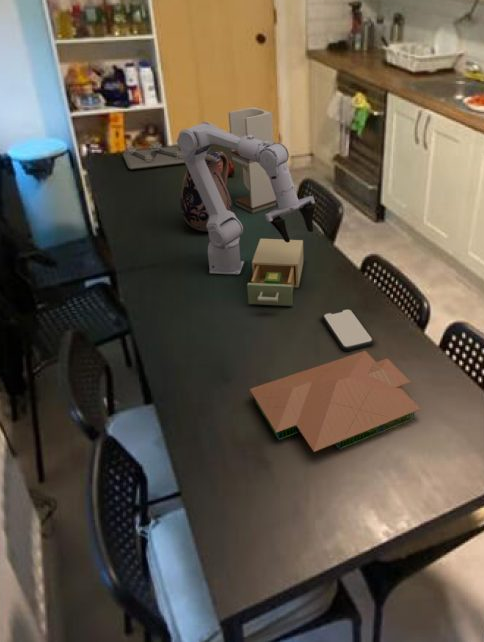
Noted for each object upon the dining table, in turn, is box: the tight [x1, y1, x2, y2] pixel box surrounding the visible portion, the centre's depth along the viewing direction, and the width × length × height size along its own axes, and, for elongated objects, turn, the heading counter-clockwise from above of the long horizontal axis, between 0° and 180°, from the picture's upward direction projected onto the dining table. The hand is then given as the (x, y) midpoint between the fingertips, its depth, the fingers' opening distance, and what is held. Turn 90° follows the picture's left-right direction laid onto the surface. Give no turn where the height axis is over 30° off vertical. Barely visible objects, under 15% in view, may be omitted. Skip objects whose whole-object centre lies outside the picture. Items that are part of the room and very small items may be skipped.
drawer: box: [246, 265, 295, 307], centre depth 161 cm, size 19×12×6 cm, turn 177°
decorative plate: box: [122, 141, 186, 171], centre depth 256 cm, size 30×22×7 cm
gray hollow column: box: [228, 106, 277, 214], centre depth 209 cm, size 11×11×35 cm
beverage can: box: [218, 160, 236, 177], centre depth 240 cm, size 7×12×7 cm, turn 116°
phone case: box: [322, 308, 374, 352], centre depth 149 cm, size 9×2×16 cm
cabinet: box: [251, 238, 304, 289], centre depth 172 cm, size 16×14×8 cm
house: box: [249, 350, 421, 453], centre depth 123 cm, size 23×33×8 cm
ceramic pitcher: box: [179, 151, 233, 232], centre depth 196 cm, size 18×21×25 cm
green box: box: [264, 272, 282, 284], centre depth 162 cm, size 7×4×4 cm, turn 177°
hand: (299, 236), depth 157 cm, fingers open, 7 cm apart
